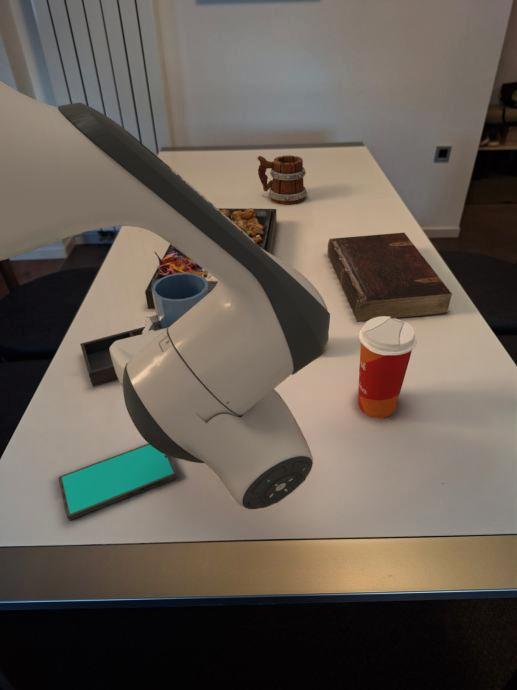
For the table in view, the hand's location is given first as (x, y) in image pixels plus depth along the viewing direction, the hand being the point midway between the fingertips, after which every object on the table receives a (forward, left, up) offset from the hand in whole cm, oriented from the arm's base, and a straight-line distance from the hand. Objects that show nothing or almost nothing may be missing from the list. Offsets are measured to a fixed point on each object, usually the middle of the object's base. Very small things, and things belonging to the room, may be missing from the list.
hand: (182, 313), depth 64 cm
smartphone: (-13, -4, -22) cm, 26 cm away
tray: (-4, +23, -22) cm, 32 cm away
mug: (+56, +82, -22) cm, 101 cm away
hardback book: (+52, +25, -22) cm, 62 cm away
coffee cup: (+28, -7, -22) cm, 36 cm away
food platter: (+24, +52, -22) cm, 61 cm away
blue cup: (0, -1, -5) cm, 6 cm away
